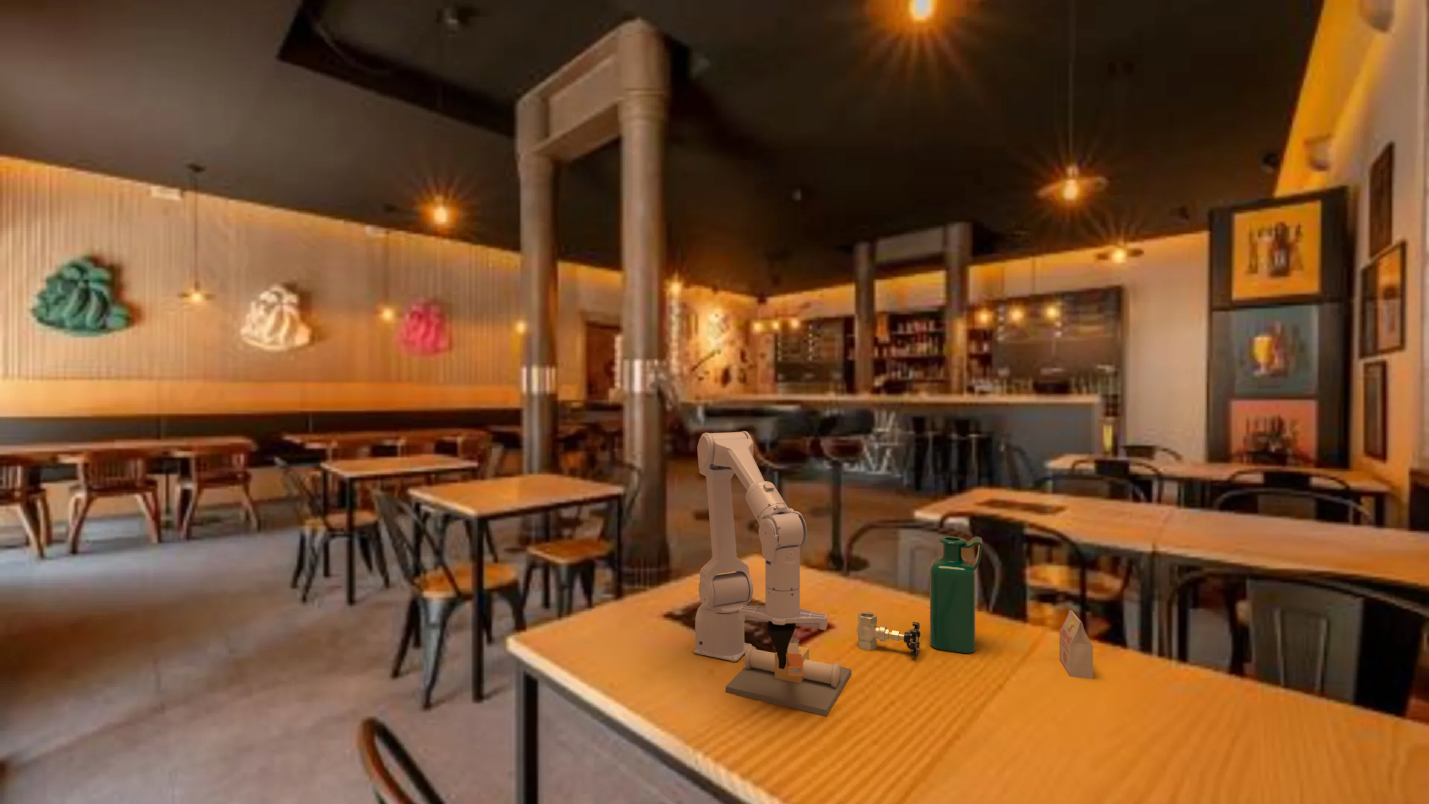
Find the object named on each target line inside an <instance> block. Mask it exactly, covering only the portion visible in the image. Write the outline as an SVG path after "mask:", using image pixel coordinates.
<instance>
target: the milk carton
mask: <svg viewBox="0 0 1429 804" xmlns="http://www.w3.org/2000/svg"><path fill="white" fill-rule="evenodd" d="M1059 662H1060V663H1061V665H1062V666H1063V668H1064V670H1065V671H1066V672H1067V674H1068V676H1069V677H1074V678H1082V679H1092V680H1093V678H1094V646H1093V644H1092V642H1091V640H1090V638H1089V636H1088V634H1087V632H1086V629H1085V628H1084V624H1083V622H1082V621H1081V619H1079V617H1078V616H1077V615H1076V614H1075V613H1074V611H1073V610H1072V609H1071V610H1070V609H1068V613H1067V615H1066V618H1065V619H1064V621H1063V623H1062V625H1061V627H1060V629H1059Z"/></svg>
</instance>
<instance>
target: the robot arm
mask: <svg viewBox="0 0 1429 804" xmlns="http://www.w3.org/2000/svg"><path fill="white" fill-rule="evenodd" d="M754 447H755V446H754V441H753V438H752V437H751V435H750V434H749V432H748V431H745V430H742V431H735V432H734V431H733V432H732V431H731V432H713V433H712V432H710V433H709V432H704V433H702V434H701V436H700V438H699V440H698V444H697V460H698V461H697V462H698V469H699V474H701V475H703V476H705V479H706V492H707V502H708V504H707V505H708V517H709V528H710V529H709V531H710V532H709V533H710V542H711V543H710V544H711V546H710V547H711V558H710V559H709V560H708V561H707V562H706V563H705V564H704V565H703V566H702V568H701V569H700V570H699V583H698V596H699V599H700V603H701V604H700V605H699V607H698V608H697V610H696V615H695V621H694V622H695V623H694V624H695V625H694V629H695V630H694V633H695V634H694V635H695V649H694V650H693V653H694V654H695V655H696V654H697V655H701V656H702V655H703V656H707V657H711V658H716V659H720V660H721V659H722V660H725V661H731V662H738V661H739V660H740V659H741V658H742V657H743V656H745V653H746V650H747V648H748V647H749V646H753V645H752V643H747V642H745V622H746V621H754V622H762V623H763V622H765V623H767V628H766V630H767V631H766V632H767V634H768V637H769V638H770V640H771V642H772V645H773V646H774V648H775V653H776V652H777V656H778V659H779V668H780V669H784V668H785V665H786V654H787V649H788V646H789V643H790V640H791V637H793V635H794V633H795V631H796V628H797V626H800V627H801V626H802V627H811V628H818V629H819V630H822V631H823V630H824V631H826V630H827V627H828V614H827V613H822V612H816V611H811V610H809V609H808V610H807V609H803V608H801V547H803V546H804V545H805V543H806V542H807V539H808V529H807V524H806V521H805V518H804V517H803V515H802V513H801V512H799V511H795V510H794V509H793V508H792V507H791V508H790V507H788V506H787V503H786V502H785V500H784V499H783V497H782V495H781V494H780V493H779V491H778V490H777V488H776V485H774V483H772V482H770V481H767V480H766V481H765V479H764V477H763V475H762V472H761V471H760V469H759V467H758V465H757V463H756V461H755V458H754V450H755V449H754ZM734 474H735V476H737V479H739V481H740V483H741V484H742V486H743V487H744V488H745V490H746V491H747V492H746V494H745V501H746V503H747V505H748V507H749V509H750V511H751V512H752V515H753V516H754V518H755V520H756V522H757V523H758V526H759V527H758V530H757V531H758V538H759V541H760V544H761V554H762V558H763V559H765V562H764V563H765V564H764V565H765V567H764V568H765V581H764V582H765V589H764V590H765V593H764V594H765V596H764V597H765V605H748V604H749V603H750V602H751V600H752V598H753V595H754V584H753V579H752V577H751V573H750V568H749V565H748V564H747V563H746V562H744V561H742V560H741V559H740V558H739V557H738V555H737V554H738V553H737V541H736V529H735V528H736V527H735V518H734V505H733V494H732V493H733V492H732V478H733V476H734Z"/></svg>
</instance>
